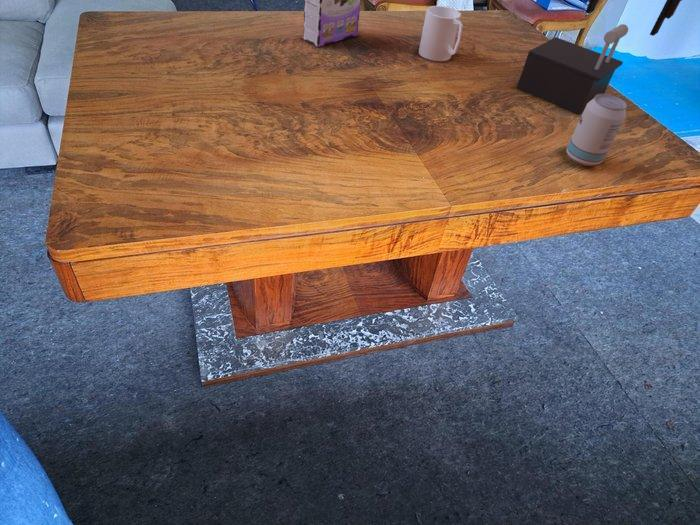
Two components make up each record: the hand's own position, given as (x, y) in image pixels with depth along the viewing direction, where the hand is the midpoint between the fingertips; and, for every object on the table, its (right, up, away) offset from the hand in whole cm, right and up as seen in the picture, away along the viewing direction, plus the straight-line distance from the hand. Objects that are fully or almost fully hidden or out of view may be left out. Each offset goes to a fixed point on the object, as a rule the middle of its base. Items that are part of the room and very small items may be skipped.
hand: (620, 22), depth 104 cm
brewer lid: (-5, -4, +9) cm, 11 cm away
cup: (-33, +2, +23) cm, 40 cm away
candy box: (-60, +8, +25) cm, 66 cm away
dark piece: (-6, -9, +15) cm, 19 cm away
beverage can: (-10, -29, -6) cm, 31 cm away
